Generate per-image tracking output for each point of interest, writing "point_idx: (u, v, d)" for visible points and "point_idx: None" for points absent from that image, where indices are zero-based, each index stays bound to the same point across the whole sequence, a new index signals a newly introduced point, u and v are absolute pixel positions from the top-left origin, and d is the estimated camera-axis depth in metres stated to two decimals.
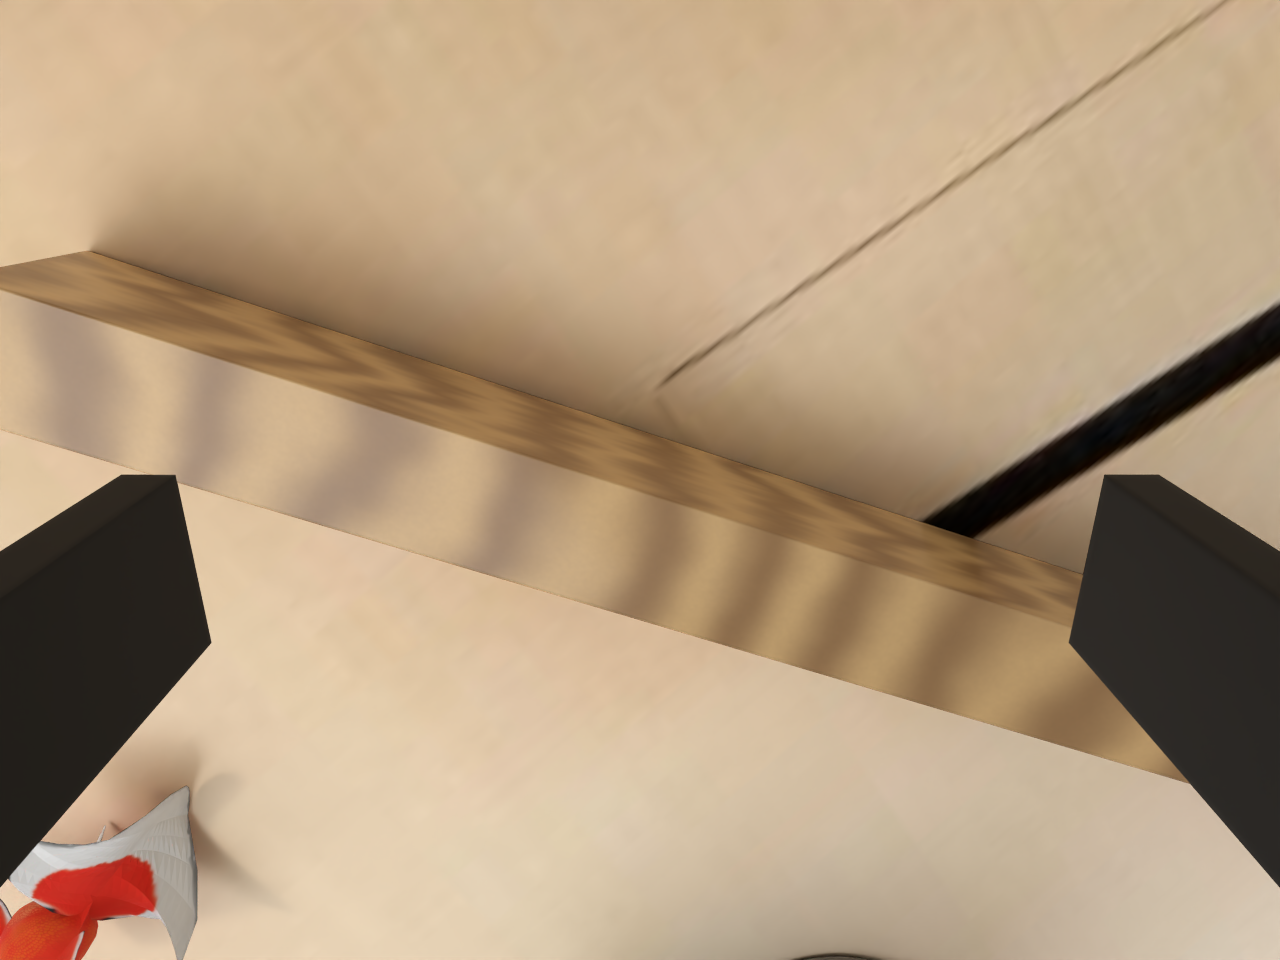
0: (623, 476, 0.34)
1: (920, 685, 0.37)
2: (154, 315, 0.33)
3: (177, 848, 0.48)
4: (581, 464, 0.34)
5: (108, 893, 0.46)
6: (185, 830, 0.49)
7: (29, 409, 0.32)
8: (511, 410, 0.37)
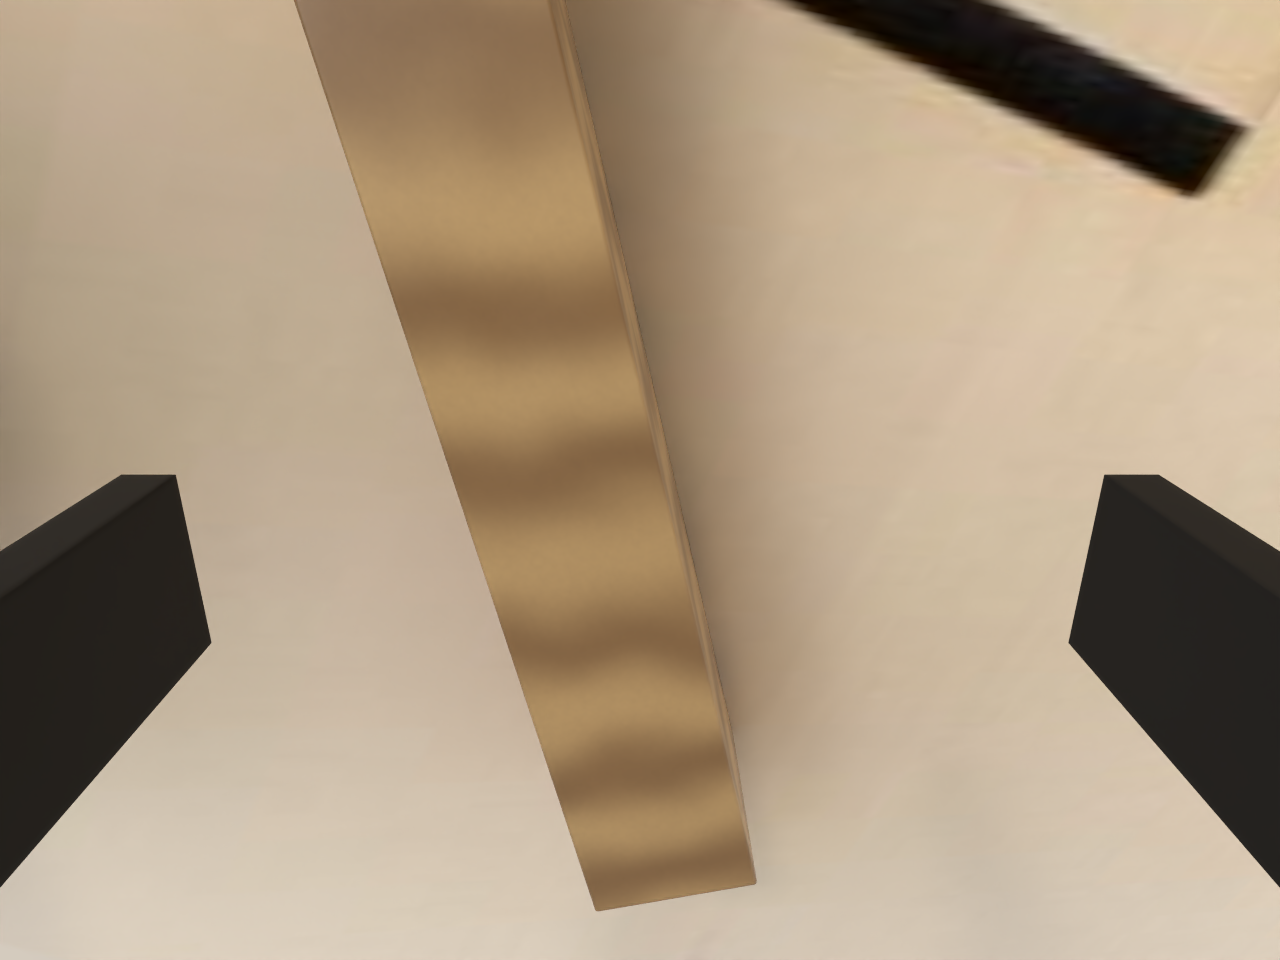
0: None
1: None
2: None
3: None
4: None
5: None
6: None
7: None
8: None
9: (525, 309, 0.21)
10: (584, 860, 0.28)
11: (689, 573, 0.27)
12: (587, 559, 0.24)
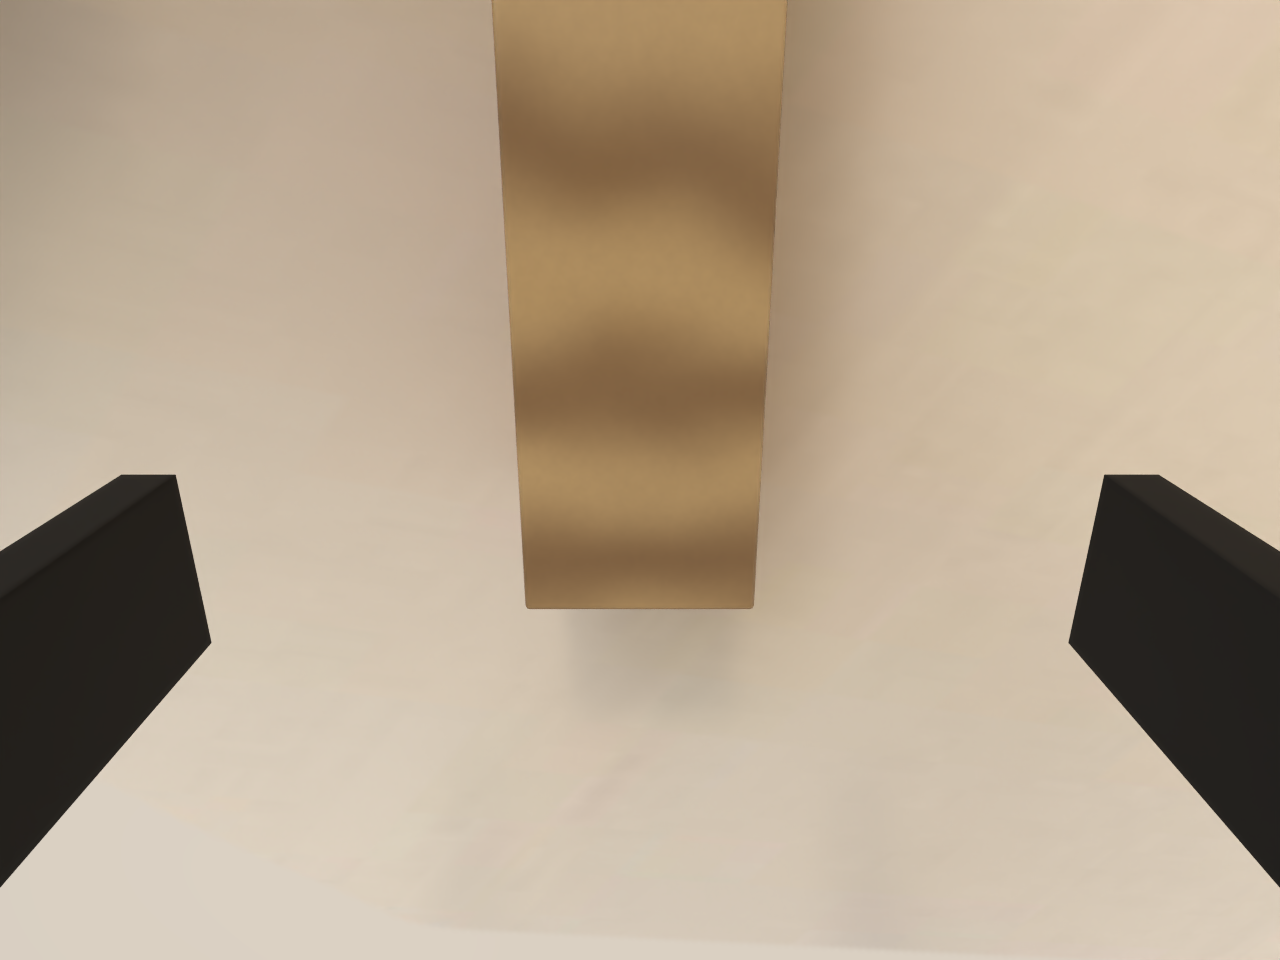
0: None
1: None
2: None
3: None
4: None
5: None
6: None
7: None
8: None
9: None
10: (529, 522, 0.20)
11: None
12: (651, 2, 0.16)
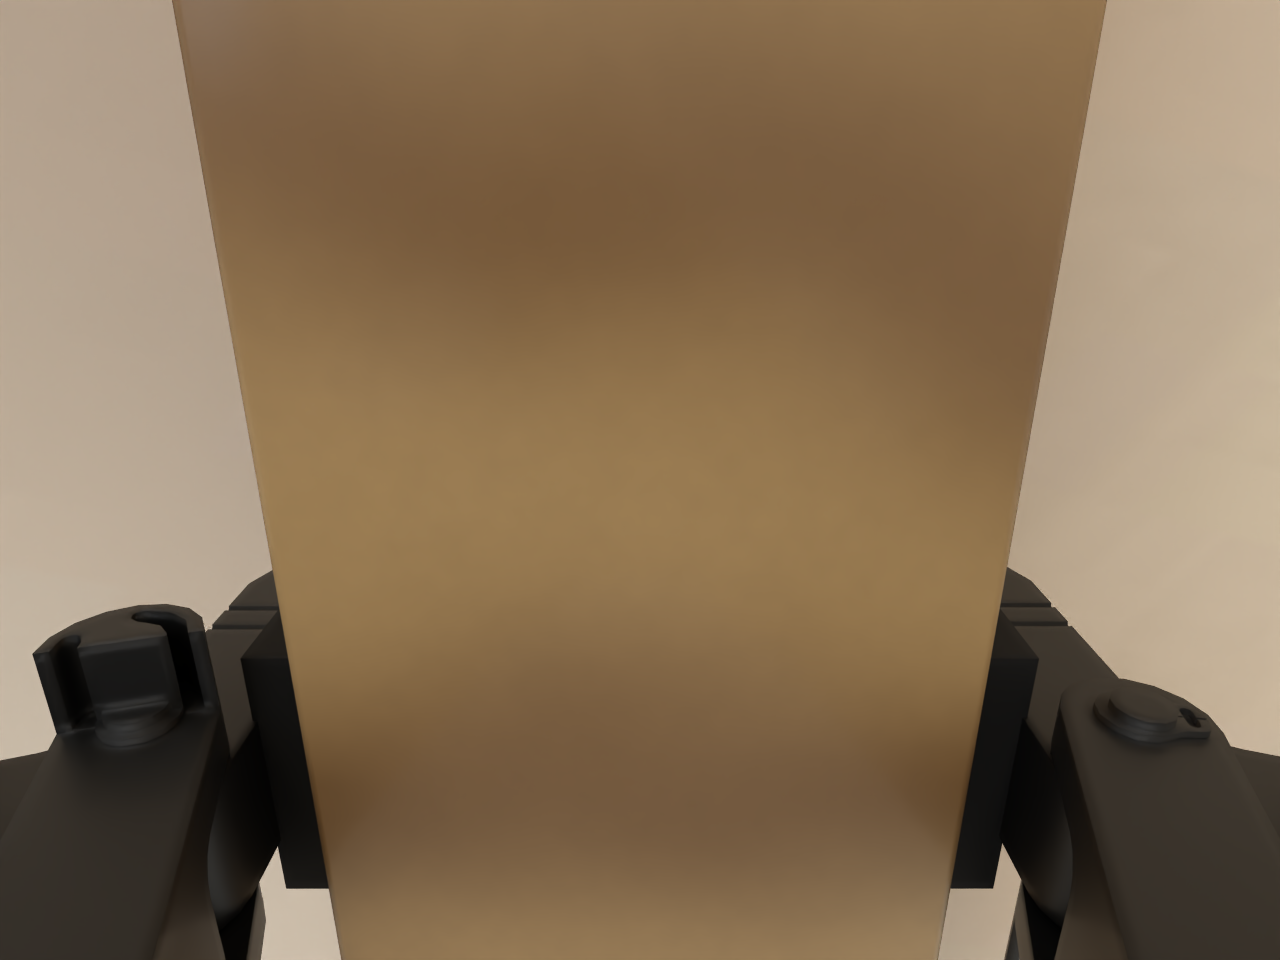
0: None
1: None
2: None
3: None
4: None
5: None
6: None
7: None
8: None
9: None
10: None
11: None
12: None
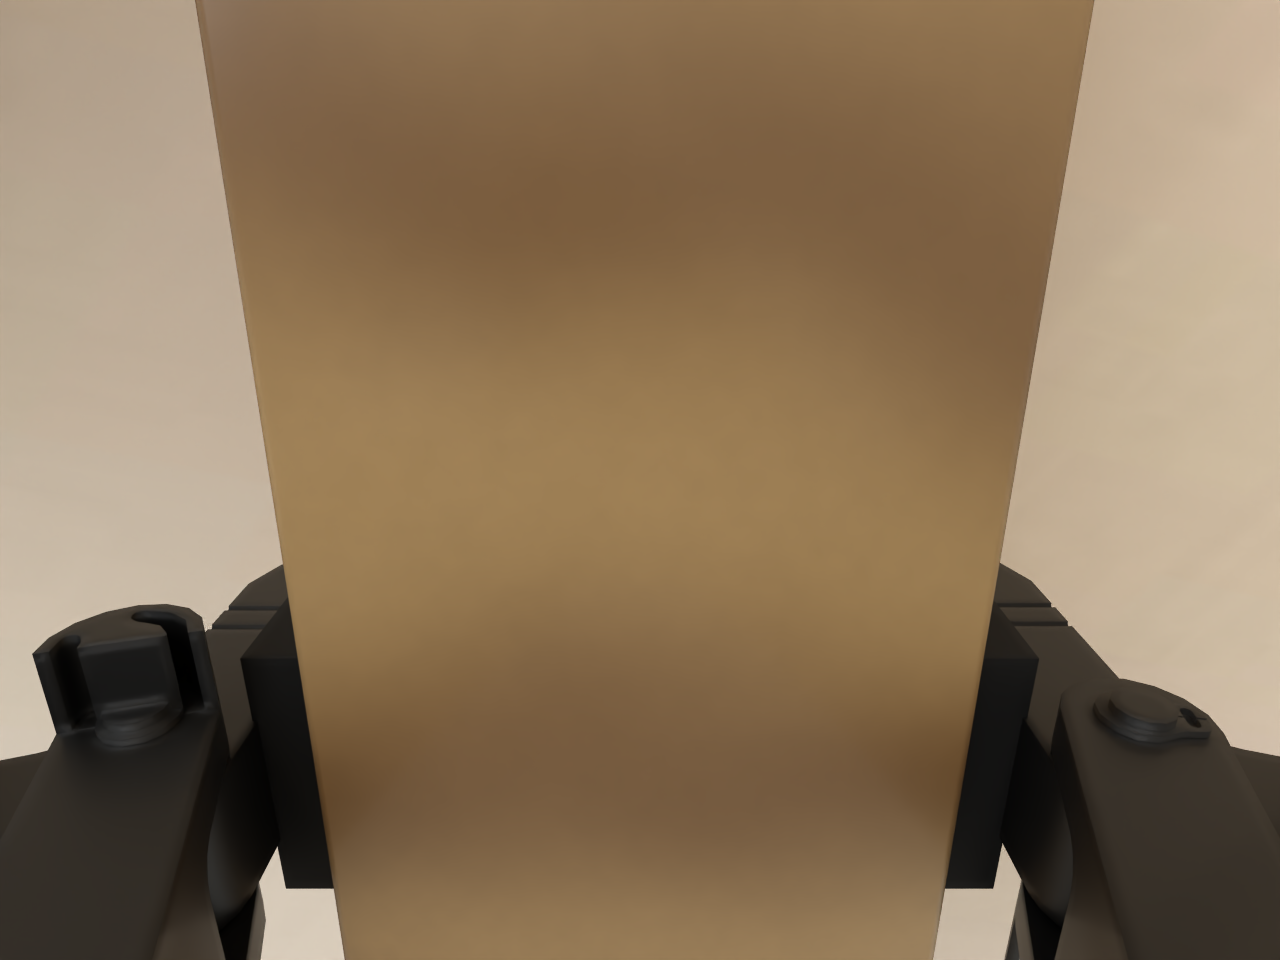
0: None
1: None
2: None
3: None
4: None
5: None
6: None
7: None
8: None
9: None
10: None
11: None
12: None
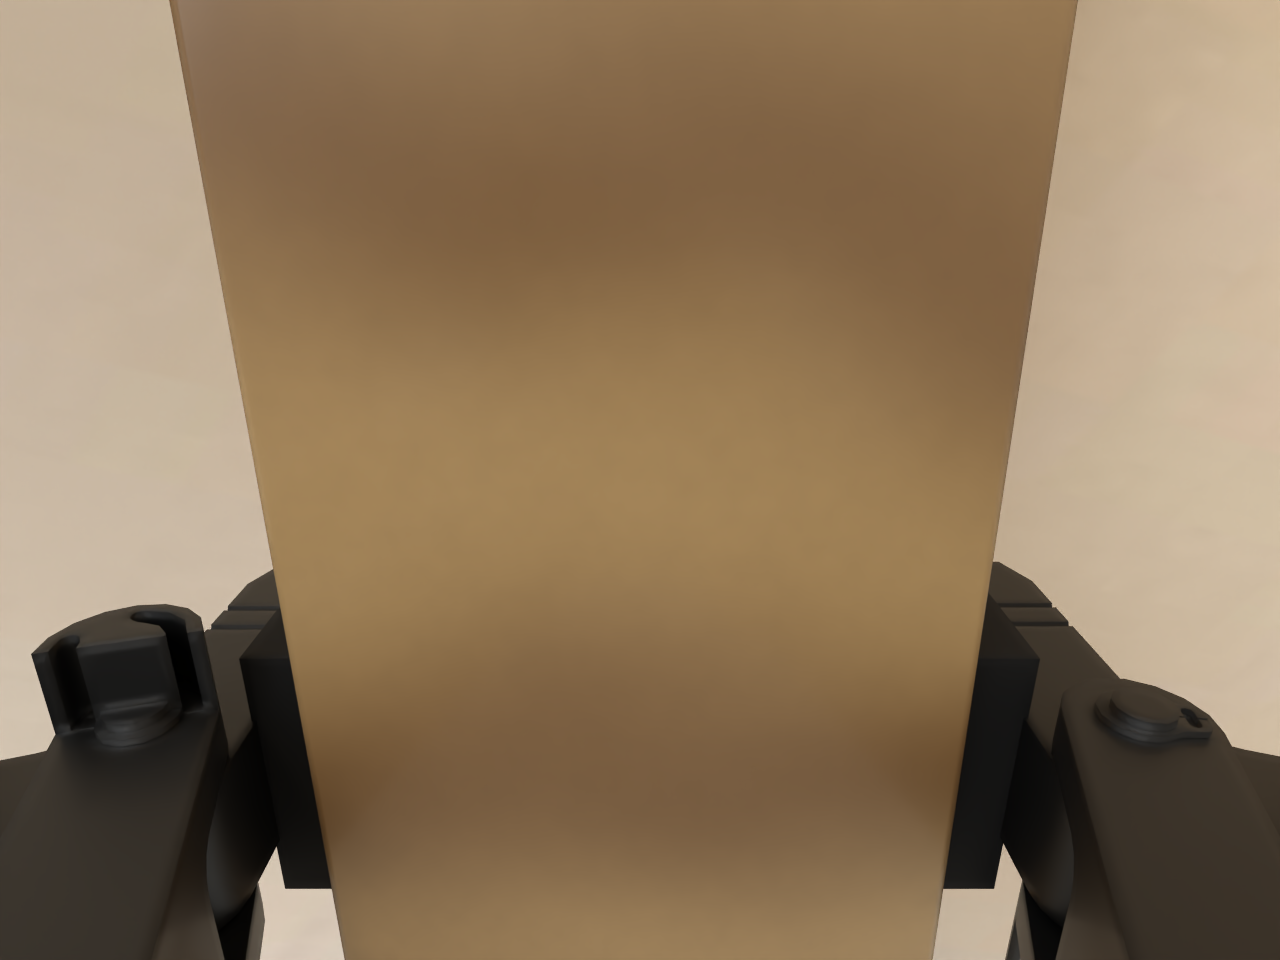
0: None
1: None
2: None
3: None
4: None
5: None
6: None
7: None
8: None
9: None
10: None
11: None
12: None
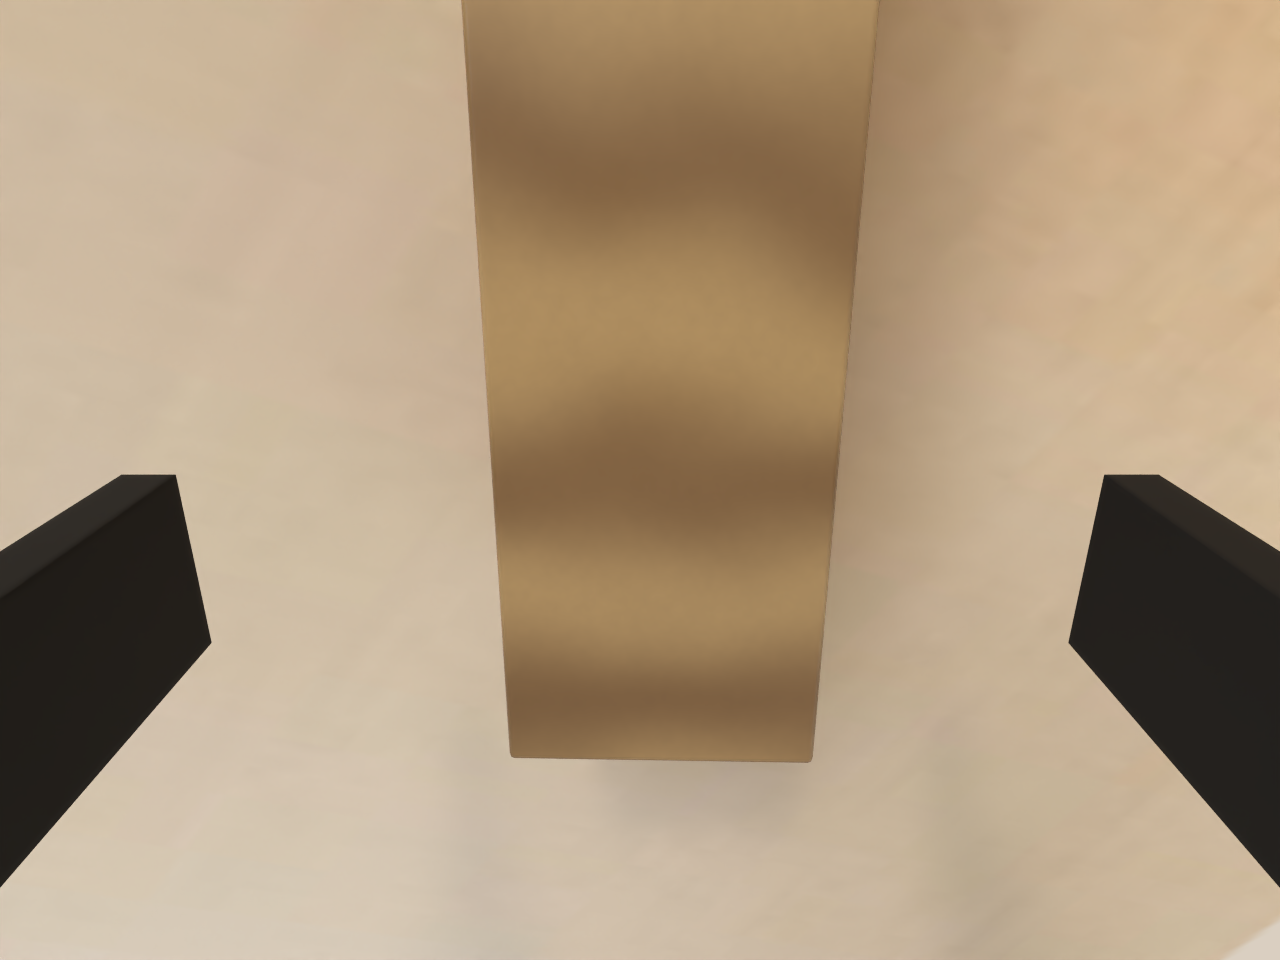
0: None
1: None
2: None
3: None
4: None
5: None
6: None
7: None
8: None
9: None
10: (513, 648, 0.15)
11: None
12: None
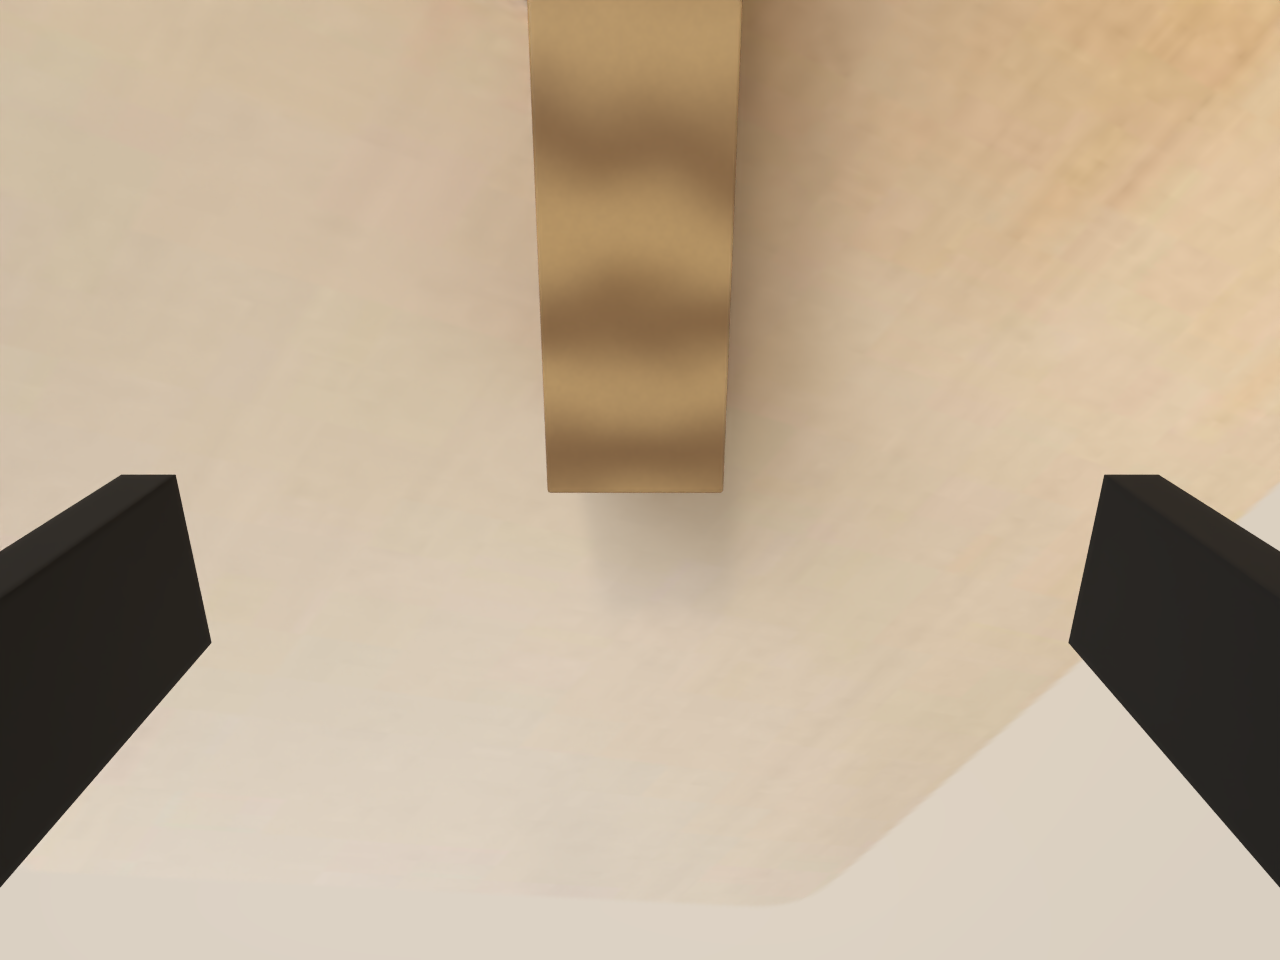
0: None
1: None
2: None
3: None
4: None
5: None
6: None
7: None
8: None
9: None
10: (551, 422, 0.26)
11: None
12: (643, 31, 0.22)
